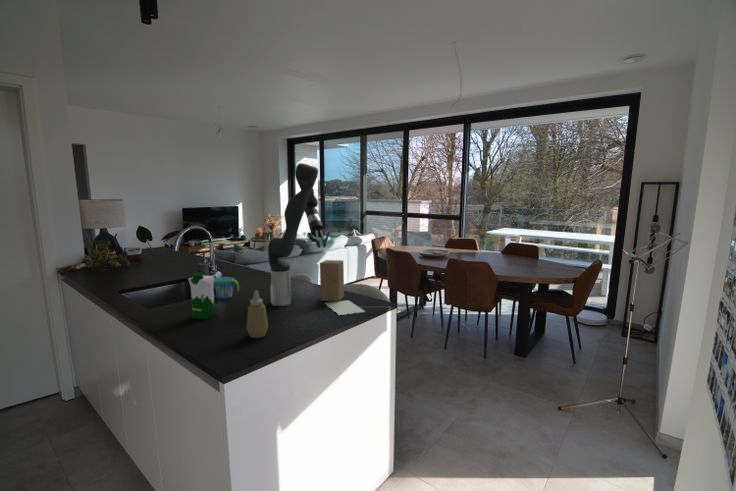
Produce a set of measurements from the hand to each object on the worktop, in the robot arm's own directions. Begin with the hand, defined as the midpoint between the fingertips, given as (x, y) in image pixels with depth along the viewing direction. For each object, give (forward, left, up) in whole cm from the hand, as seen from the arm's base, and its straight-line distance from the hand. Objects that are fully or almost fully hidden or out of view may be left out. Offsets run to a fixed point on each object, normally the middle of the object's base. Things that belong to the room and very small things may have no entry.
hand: (322, 246), depth 204 cm
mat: (0, -32, -26) cm, 41 cm away
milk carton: (-62, -17, -26) cm, 69 cm away
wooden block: (0, -16, -26) cm, 30 cm away
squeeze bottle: (-44, -51, -26) cm, 72 cm away
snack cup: (-51, +12, -26) cm, 59 cm away
